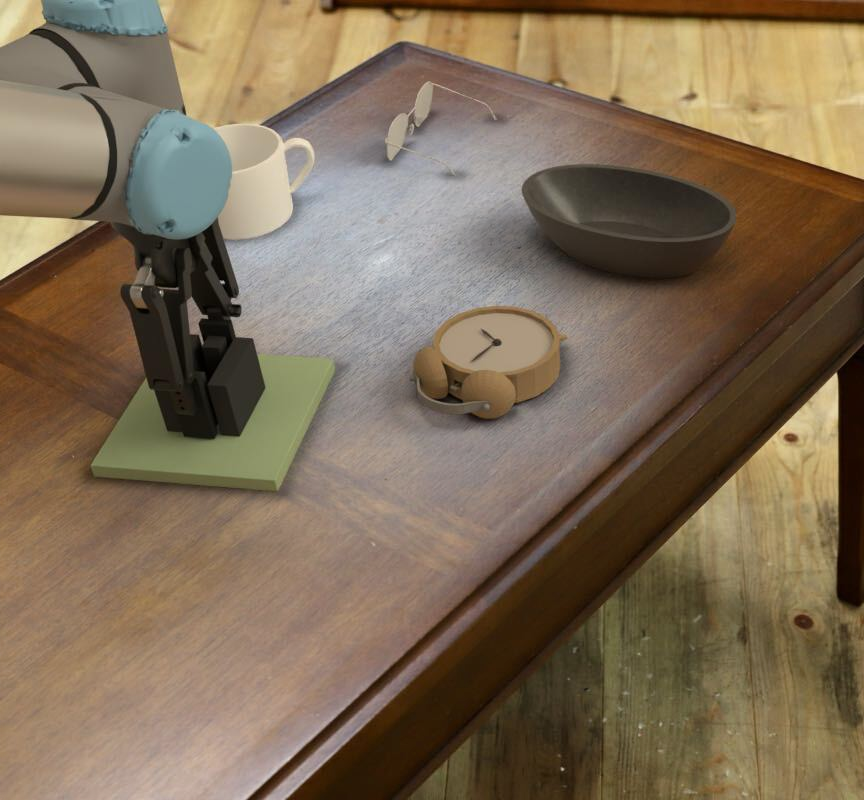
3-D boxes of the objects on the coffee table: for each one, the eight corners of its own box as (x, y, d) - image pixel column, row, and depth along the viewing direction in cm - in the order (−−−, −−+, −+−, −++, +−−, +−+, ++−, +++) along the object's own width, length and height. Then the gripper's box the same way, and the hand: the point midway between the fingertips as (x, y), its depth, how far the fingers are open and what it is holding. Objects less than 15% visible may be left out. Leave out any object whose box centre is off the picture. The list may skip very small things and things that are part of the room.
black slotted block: (167, 431, 117) (150, 381, 113) (195, 382, 121) (180, 333, 118) (240, 436, 116) (225, 386, 112) (265, 387, 121) (253, 337, 117)
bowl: (556, 203, 145) (553, 151, 141) (754, 246, 137) (756, 192, 133) (502, 263, 137) (497, 210, 133) (709, 313, 129) (710, 258, 125)
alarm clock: (586, 327, 123) (486, 397, 112) (583, 375, 126) (485, 447, 115) (484, 292, 128) (379, 354, 117) (484, 338, 131) (381, 404, 119)
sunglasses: (431, 111, 161) (433, 73, 158) (498, 129, 160) (501, 92, 157) (383, 170, 151) (383, 131, 148) (454, 190, 150) (456, 152, 147)
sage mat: (94, 478, 115) (83, 449, 113) (169, 360, 127) (160, 331, 125) (278, 493, 112) (270, 463, 110) (336, 371, 124) (330, 342, 122)
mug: (196, 250, 141) (177, 181, 135) (195, 198, 148) (177, 131, 143) (328, 230, 143) (314, 161, 137) (320, 179, 151) (307, 113, 145)
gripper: (145, 248, 96) (217, 488, 111) (241, 113, 110) (293, 341, 125) (44, 242, 97) (129, 481, 112) (153, 109, 111) (215, 336, 126)
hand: (216, 406), depth 118 cm, fingers closed on black slotted block, 6 cm apart
